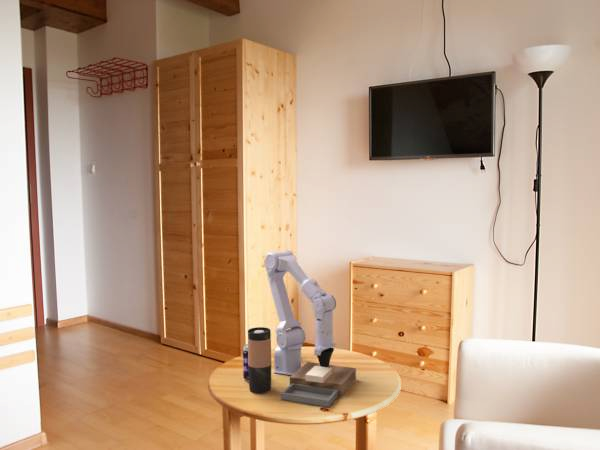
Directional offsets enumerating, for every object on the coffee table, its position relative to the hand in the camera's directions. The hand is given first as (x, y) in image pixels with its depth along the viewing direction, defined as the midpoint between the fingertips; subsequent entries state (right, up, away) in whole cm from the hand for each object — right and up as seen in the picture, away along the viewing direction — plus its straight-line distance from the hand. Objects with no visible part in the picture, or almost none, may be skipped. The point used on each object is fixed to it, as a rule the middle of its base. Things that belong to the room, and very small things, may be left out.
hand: (324, 369), depth 174 cm
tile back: (-1, -1, -3) cm, 3 cm away
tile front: (-3, -1, -7) cm, 8 cm away
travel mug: (-22, -5, -5) cm, 23 cm away
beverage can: (-25, -5, +4) cm, 26 cm away
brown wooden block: (0, -5, -1) cm, 5 cm away
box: (-5, -6, -12) cm, 15 cm away
